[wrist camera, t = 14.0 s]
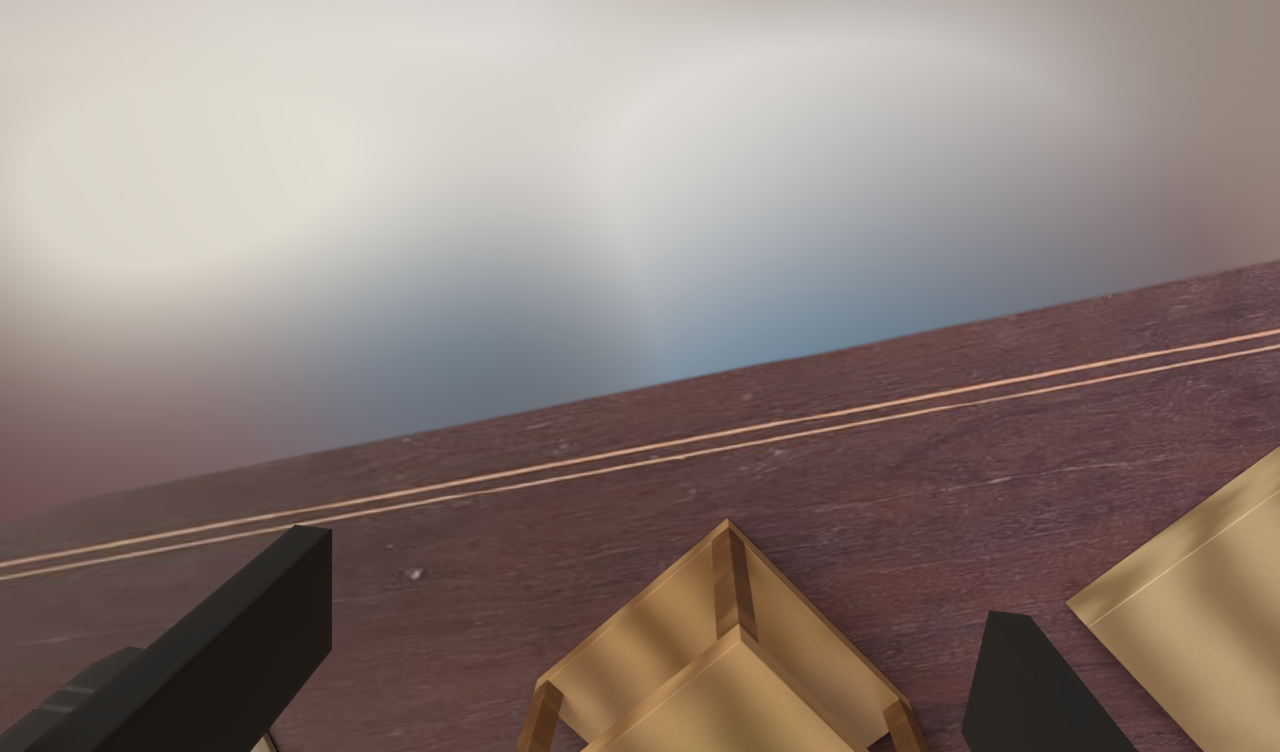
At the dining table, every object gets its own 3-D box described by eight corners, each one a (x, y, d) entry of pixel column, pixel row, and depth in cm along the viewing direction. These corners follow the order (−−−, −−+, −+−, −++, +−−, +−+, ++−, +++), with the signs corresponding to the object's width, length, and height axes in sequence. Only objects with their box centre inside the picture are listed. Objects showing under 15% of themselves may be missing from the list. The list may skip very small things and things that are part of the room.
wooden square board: (1283, 441, 46) (1324, 458, 43) (1434, 618, 48) (1483, 646, 45) (1064, 601, 49) (1087, 627, 46) (1213, 761, 51) (1244, 795, 48)
